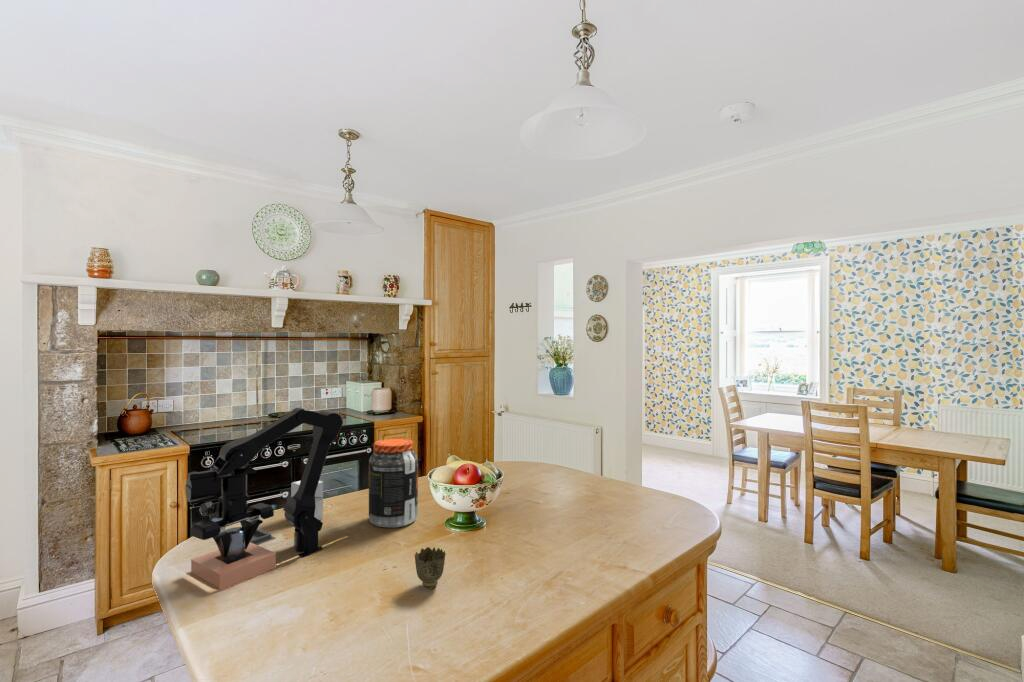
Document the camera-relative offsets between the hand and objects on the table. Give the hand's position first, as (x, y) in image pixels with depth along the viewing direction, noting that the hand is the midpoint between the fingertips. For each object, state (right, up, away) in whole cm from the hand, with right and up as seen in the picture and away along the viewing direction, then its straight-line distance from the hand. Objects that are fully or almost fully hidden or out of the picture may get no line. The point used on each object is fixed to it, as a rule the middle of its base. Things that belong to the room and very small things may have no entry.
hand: (234, 553), depth 128 cm
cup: (+51, -6, -6) cm, 52 cm away
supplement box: (+4, -4, +36) cm, 36 cm away
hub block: (0, -5, 0) cm, 5 cm away
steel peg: (0, -2, 0) cm, 2 cm away
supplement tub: (+32, -5, +36) cm, 49 cm away
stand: (-5, -4, +18) cm, 19 cm away
